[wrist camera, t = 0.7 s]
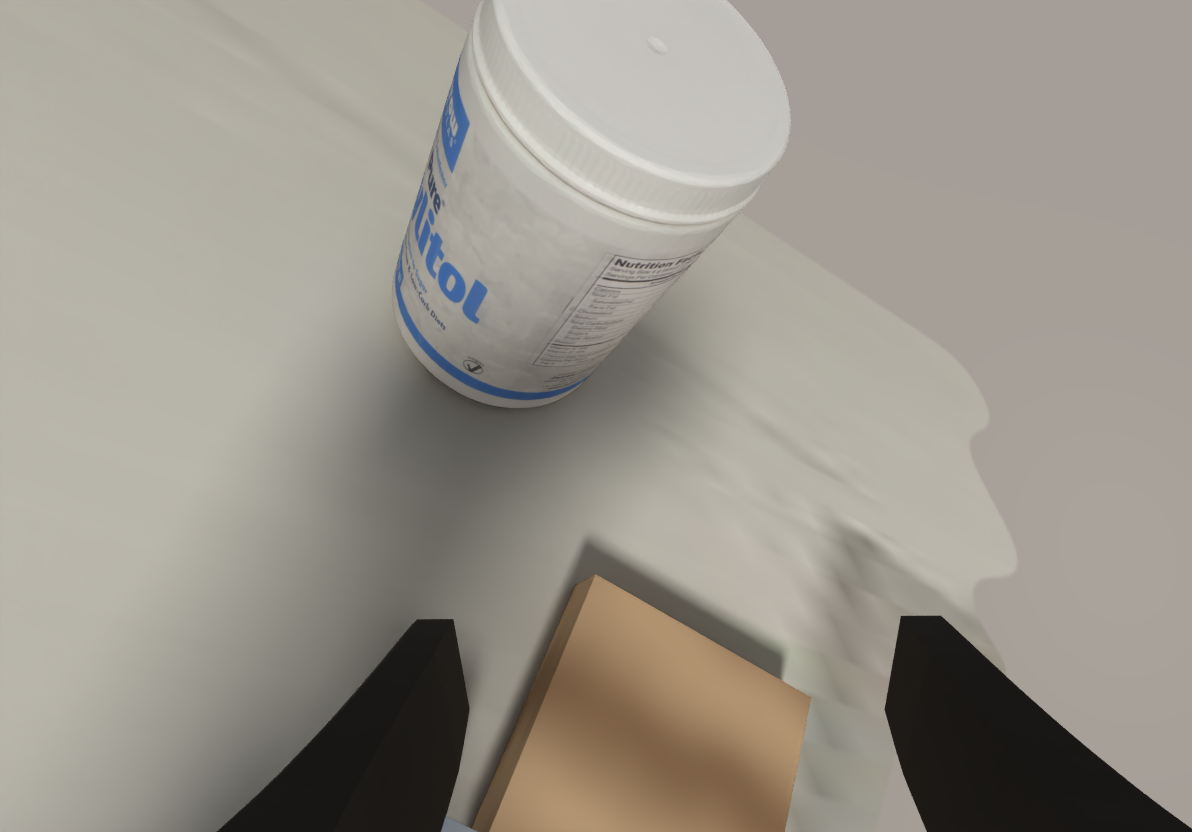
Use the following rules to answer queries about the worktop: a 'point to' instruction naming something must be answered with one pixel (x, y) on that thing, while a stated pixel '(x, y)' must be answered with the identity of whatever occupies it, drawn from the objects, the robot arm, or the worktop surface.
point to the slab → (645, 731)
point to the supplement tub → (578, 183)
